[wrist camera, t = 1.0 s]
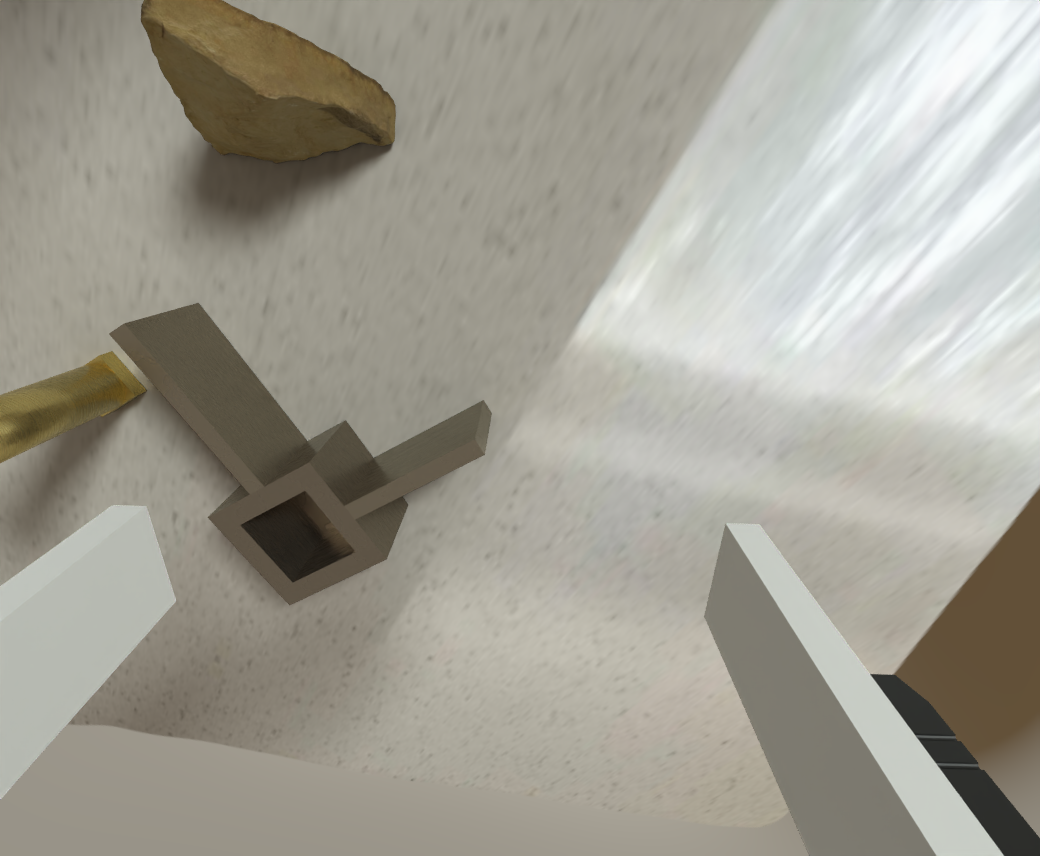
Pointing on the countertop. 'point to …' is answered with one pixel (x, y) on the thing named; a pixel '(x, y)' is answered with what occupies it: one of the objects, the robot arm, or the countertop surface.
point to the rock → (262, 84)
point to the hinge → (291, 459)
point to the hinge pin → (63, 403)
